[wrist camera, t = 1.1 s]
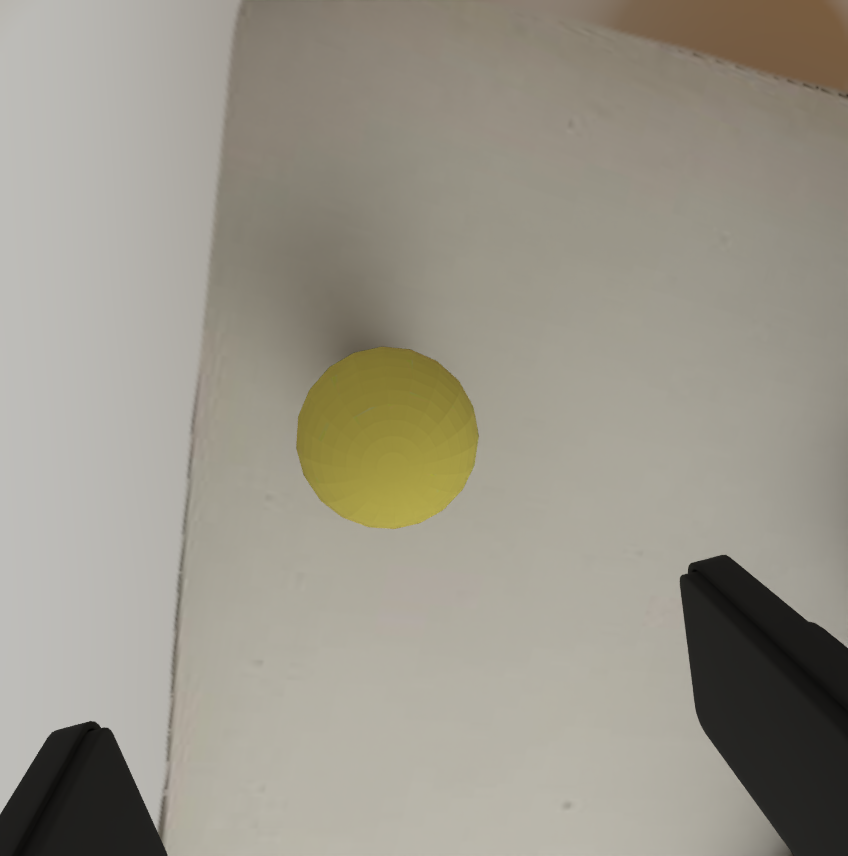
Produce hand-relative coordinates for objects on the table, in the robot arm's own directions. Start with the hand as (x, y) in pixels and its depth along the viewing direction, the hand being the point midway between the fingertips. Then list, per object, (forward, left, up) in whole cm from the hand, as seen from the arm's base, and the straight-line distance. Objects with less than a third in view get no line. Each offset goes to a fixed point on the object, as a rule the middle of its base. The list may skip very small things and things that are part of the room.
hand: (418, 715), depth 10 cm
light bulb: (0, 0, -21) cm, 21 cm away
